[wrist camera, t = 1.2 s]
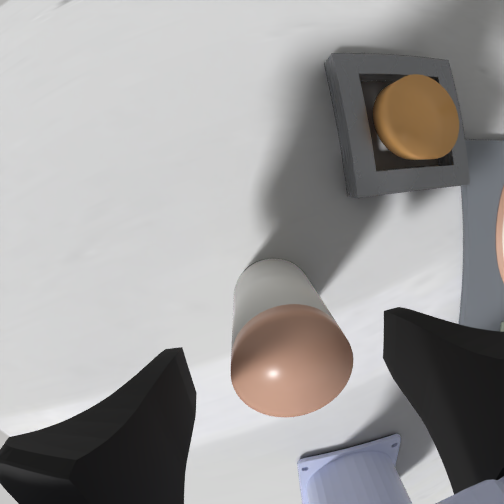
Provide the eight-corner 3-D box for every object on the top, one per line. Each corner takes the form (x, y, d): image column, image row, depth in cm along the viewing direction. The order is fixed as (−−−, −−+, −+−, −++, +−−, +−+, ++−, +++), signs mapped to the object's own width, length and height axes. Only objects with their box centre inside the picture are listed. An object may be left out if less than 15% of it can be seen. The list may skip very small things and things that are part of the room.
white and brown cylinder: (314, 323, 17) (353, 403, 10) (241, 335, 17) (242, 424, 10) (306, 252, 16) (351, 305, 9) (227, 265, 16) (218, 329, 9)
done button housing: (454, 183, 15) (470, 184, 14) (347, 195, 15) (357, 198, 14) (434, 67, 14) (448, 60, 12) (324, 63, 14) (331, 53, 12)
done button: (444, 157, 14) (464, 157, 12) (380, 162, 14) (397, 161, 12) (431, 84, 13) (449, 77, 11) (365, 82, 13) (380, 72, 11)
